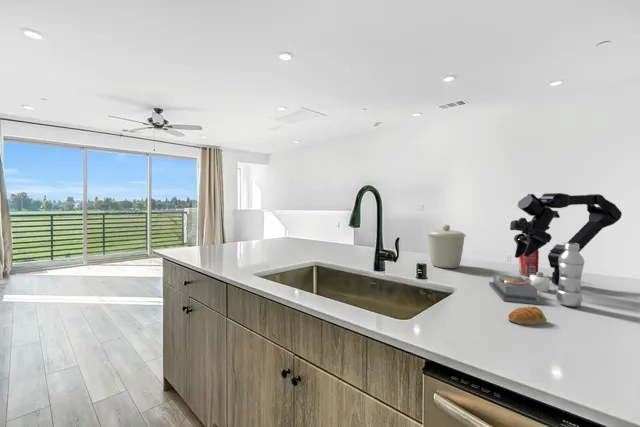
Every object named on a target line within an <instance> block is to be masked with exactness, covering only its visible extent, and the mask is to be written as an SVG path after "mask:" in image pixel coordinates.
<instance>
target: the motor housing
mask: <svg viewBox="0 0 640 427" xmlns="http://www.w3.org/2000/svg"><path fill="white" fill-rule="evenodd" d="M492 280H493V281H489V282H488V285H489V286H490V287H491V289H492V290H493V291H494V292H495V293H496V295H497V296H499V298H500V299H501V300H502V301H503V302H510V303H518V304H529V305H530V304H531V305H540V306H543V300H541V299H540V297H538V291H537V289H536V288H535V287H534V286H532V285H531V281H532V280H530V277H529V278H527V277H525V278H523V277H521V276H512V275H501V274H500V275H499V274H493V279H492Z"/></svg>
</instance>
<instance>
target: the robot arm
mask: <svg viewBox="0 0 640 427" xmlns="http://www.w3.org/2000/svg"><path fill="white" fill-rule="evenodd" d="M574 205H575V206H576V205H578V206H580V205H586V211H587V212H588V213H589V214H588V221H587V222H586V223H584V225H583V226H582V227H581V228H580V229H579V230H578V231H577V232H576V233H575V234H574V235H573V236H572V238H570V239H569V240H568V241H567V242H566V243H577V244H579V248H580V249H579V250H578V252H579V253H580V252H581V251H582V250H583V249H584V248H585V247H586V246H587V245H588V244H589V243H590V241H592V240H593V239H594V238H595V237H596V236H597V234H599V233H600V232H601V231H602V229H604V228H607V227H609V226H613V225H614V224H616V223H617V222H618V221H619V220H620V219H621V218H622V215H623V214H622V211H621V209H620V208H619V207H617V205H616V204H615V203H613V202H611V201H610V200H609V199H606V198H605V196H603V194H599V193H597V194H595V193H593V194H590V193H589V194H579V195H578V194H576V195H569V194H568V193H562V192H559V193H558V192H557V193H556V192H554V193H552V192H551V193H550V192H549V193H548V192H546V193H544V194H542V195H541V197H537V195H535V194H533V193H528V194H527V195H526V196H523V198H521V199H520V200H519V201H518V202H517V207H518V208H519V209H520V210H522V211H523V212H525V213H526V214H528V216H531V217H532V219H531V220H530V221H527V219H526V217H520V218H519V219H516V220H512V221H510V225H509V227H510V228H509V230H510V231H519V232H521V233H518V234H515V235H514V237H513V240H514V242H515V243H516V248H515V254H514V258H516V259H519V257H520V256H521V255H522V254H524V256H526V257H528V256H529V255H530V254H532V253H533V252H535V251H536V250H539V249H541V248H542V247H544V246H546V245H547V244H548V243H550V242H551V240H552V238H553V237H552V235H551V234H550V233H549V232H546V231H548V230H549V229H551V226H550V225H551V223H552V221H553V219H559V218H560V217H561V216H560V213H559V211H558V210H553V209H563V208H568V207H569V206H574ZM564 251H565V249H564V244H559V243H558V244H555V245H554V246H553V247H552V248H551V249H549V253H548V254H547V259H548V264H549V268H552V269H553V271H552V276H551V283H552V284H554V285H555V286H557V287H558V285H559V276H560V275H559V263H558V258H559V256H560V255H561V253H563V252H564Z"/></svg>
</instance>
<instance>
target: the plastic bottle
mask: <svg viewBox="0 0 640 427" xmlns="http://www.w3.org/2000/svg"><path fill="white" fill-rule="evenodd" d="M563 245H564V249H565V251H564V252H563V253H561V255H560V256H559V258H558V263H559V275H560V276H559V285H558V286H557V290H556V292H555V293H556V294H555V298H556V301H557V302H558V304H561V305H563V306H567V307H572V308H578V307H580V306H581V305H582V303H583V295H582V284H581V282H582V276H583V274H582V273H583V270H584V267H585V266H584V265H585V259H584V257H583V256H582V254H581V253H580V252H578V250H579V249H580V248H579V244H577V243H567V242H564V243H563Z"/></svg>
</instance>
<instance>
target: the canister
mask: <svg viewBox="0 0 640 427" xmlns="http://www.w3.org/2000/svg"><path fill="white" fill-rule="evenodd" d="M450 228H451V226H450V224H444V225H442V229H431V230H430V231H428V232H426V235H427V238H428V239H427V240H428V250H429V259H430V263H431V264H432V266H434V267H437V268H440V269H441V268H442V269H456V268H458V267H459V266H460V265H461V262H462V256H463V251H464V243H465V238H466V237H467V235H466V234H465V233H464V232H462V231H459V230H454V229H452V230H451V229H450Z"/></svg>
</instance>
